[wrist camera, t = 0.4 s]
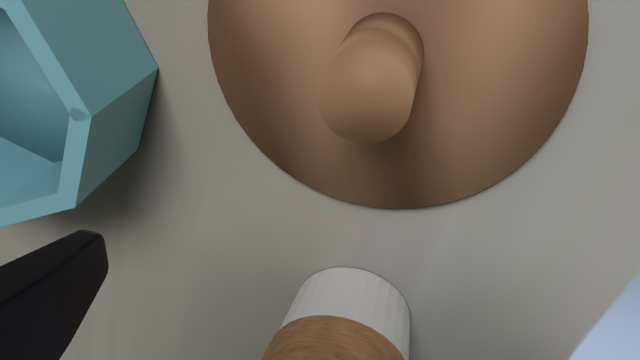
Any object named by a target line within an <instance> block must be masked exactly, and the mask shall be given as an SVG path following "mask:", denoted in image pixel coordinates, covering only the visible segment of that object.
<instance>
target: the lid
mask: <svg viewBox="0 0 640 360" xmlns="http://www.w3.org/2000/svg"><path fill="white" fill-rule="evenodd" d="M207 16H208V39H209V45H210V51H211V57H212V62H213V66H214V69H215V73H216V76H217V80H218V83H219V85H220V87H221V90H222V92H223V95H224V97H225V99H226V102H227V104H228V105H229V107H230V109H231V111H232V112H233V114H234V116H235V118H236V120H237V121H238V123H239V124H240V125H241V127H242V128H243V129H244V131H245V132H246V134H247V135H248V136H249V138H250V139H251V140H252V141H253V142H254V143H255V144H256V146H257V147H258V148H259V149H260V150H261V151H262V152H263V153H264V154H265V155H266V156H267V157H268V158H269V159H271V160H272V161H273V162H274V163H275V164H276V165H277V166H278V167H280V168H281V169H282V170H284V171H285V172H287V173H288V174H289V175H291V176H292V177H294V178H295V179H297V180H298V181H300V182H302V183H304V184H306V185H307V186H309V187H311V188H313V189H315V190H317V191H319V192H322V193H324V194H326V195H329V196H331V197H333V198H337V199H340V200H343V201H346V202H350V203H353V204H358V205H363V206H369V207H374V208H387V209H416V208H423V207H430V206H437V205H441V204H445V203H449V202H453V201H457V200H459V199H462V198H465V197H467V196H470V195H473V194H475V193H478V192H480V191H482V190H484V189H486V188H487V187H489V186H491V185H493V184H495V183H497V182H499V181H500V180H502V179H503V178H505V177H506V176H508V175H509V174H510V173H512V172H513V171H515V170H516V169H518V168H519V167H520V166H521V165H522V164H523V163H524V162H525V161H527V160H528V159H529V158H530V157H531V156H532V155H533V154H534V153H535V152H536V151H537V150H538V149H539V148H540V147H541V146H542V144H543V143H544V142H545V141H546V140H547V139H548V138H549V136H550V135H551V134H552V132H553V131H554V129H555V128H556V126H557V125H558V123H559V122H560V120H561V119H562V117H563V116H564V114H565V112H566V110H567V108H568V106H569V104H570V102H571V100H572V98H573V96H574V94H575V91H576V88H577V85H578V82H579V79H580V76H581V73H582V70H583V66H584V60H585V55H586V50H587V44H588V24H589V14H588V4H587V0H209V3H208V15H207Z"/></svg>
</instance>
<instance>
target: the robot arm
mask: <svg viewBox="0 0 640 360" xmlns="http://www.w3.org/2000/svg"><path fill="white" fill-rule="evenodd" d="M108 266H109V265H108V258H107V252H106V246H105V240H104V238H103V236H102V235H101V234H99V233H95V232H92V231H88V230H79V231H76V232H74V233H72V234H69V235H67V236H65V237H63V238H61V239H59V240H56V241H54V242H52V243H50V244H48V245H46V246H43V247H41V248H39V249H37V250H35V251H33V252H30V253H28V254H26V255H24V256H22V257H20V258H17V259H15V260H13V261H11V262H9V263H7V264H4V265H2V266H0V360H59V359H60V357H61V356H62V354H63V353H64V351H65V350H66V348H67V347H68V345H69V344H70V342H71V340H72V338H73V337H74V335H75V333H76V331H77V330H78V328H79V326H80V324H81V322H82V320H83V318H84V317H85V315H86V313H87V311H88V309H89V307H90V306H91V304H92V302H93V300H94V298H95V296H96V294H97V293H98V291H99V289H100V287H101V285H102V283H103V281H104V280H105V278H106V275H107V273H108Z"/></svg>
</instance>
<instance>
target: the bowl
mask: <svg viewBox="0 0 640 360" xmlns="http://www.w3.org/2000/svg"><path fill="white" fill-rule="evenodd" d="M157 71H158V66H157V64H156V62H155V60H154V58H153V57H152V55H151V53H150V51H149V49H148V47H147V45H146V43H145V42H144V40H143V38H142V36H141V34H140V32H139V30H138V28H137V27H136V25H135V23H134V21H133V19H132V17H131V15H130V13H129V11H128V10H127V8H126V6H125V4H124V2H123V0H0V227H2V226H6V225H10V224H14V223H18V222H22V221H26V220H29V219H33V218H37V217H41V216H45V215H49V214H53V213H56V212H60V211H64V210H68V209H72V208H76V207H77V206H78V205H79V204H80V203H81V202H82V201H83V200H84V199H85V198H86V197H87V196H88V195H90V194H91V193H92V192H93V191H94V190H95V189H96V188H97V187H98V186H99V185H100V184H101V183H102V182H103V181H105V180H106V179H107V178H108V177H109V176H110V175H111V174H112V173H113V172H114V171H115V170H116V169H117V168H119V167H120V166H121V165H122V164H123V163H124V162H125V161H126V160H127V159H128V158H129V157H130V156H131V155H133V154H134V153H135V152H136V151H137V150H138V147H139V143H140V139H141V135H142V131H143V127H144V123H145V119H146V115H147V111H148V107H149V103H150V99H151V95H152V91H153V87H154V83H155V79H156V75H157Z"/></svg>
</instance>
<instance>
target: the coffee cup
mask: <svg viewBox="0 0 640 360" xmlns="http://www.w3.org/2000/svg"><path fill="white" fill-rule="evenodd" d="M409 342H410V313H409V308H408V306H407V304H406V302H405V299H404V298H403V297H402V295H401V294H400V293H399V291H398V290H397V289H396V288H395V287H394V286H392V285H391V284H390V283H389V282H387V281H386V280H384V279H383V278H381V277H380V276H377V275H375V274H373V273H371V272H368V271H365V270H361V269H357V268H349V267H336V268H330V269H325V270H322V271H320V272H318V273H315V274H314V275H312V276H311V277H310V278H308V279H307V280H306V281H305V282H304V283H303V285H302V286H301V288H300V289H299V291H298V293H297V295H296V297H295V299H294V301H293V303H292V305H291V307H290V309H289V311H288V313H287V315H286V317H285V318H284V320H283V322H282V324H281V326H280V328H279V330H278V332H277V333H276V334H275V336H274V338H273V340H272V341H271V343H270V345H269V347H268V349H267V350H266V352H265V354H264V356H263V358H262V359H261V360H409Z"/></svg>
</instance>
